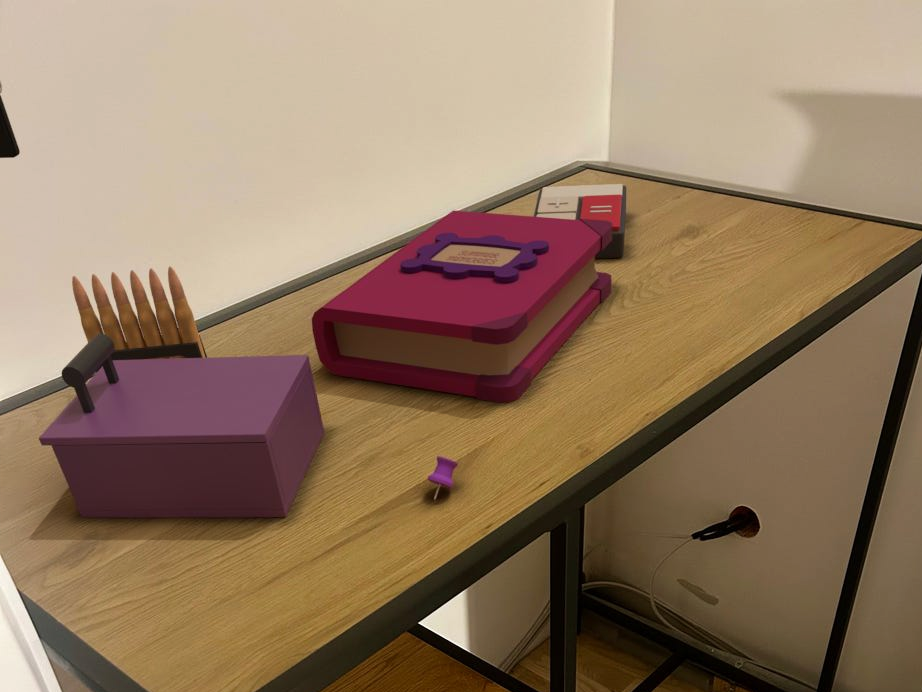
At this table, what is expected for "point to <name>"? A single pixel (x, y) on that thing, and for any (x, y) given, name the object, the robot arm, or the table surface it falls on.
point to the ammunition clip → (141, 319)
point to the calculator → (588, 209)
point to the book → (468, 305)
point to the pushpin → (443, 473)
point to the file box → (199, 470)
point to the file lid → (172, 398)
